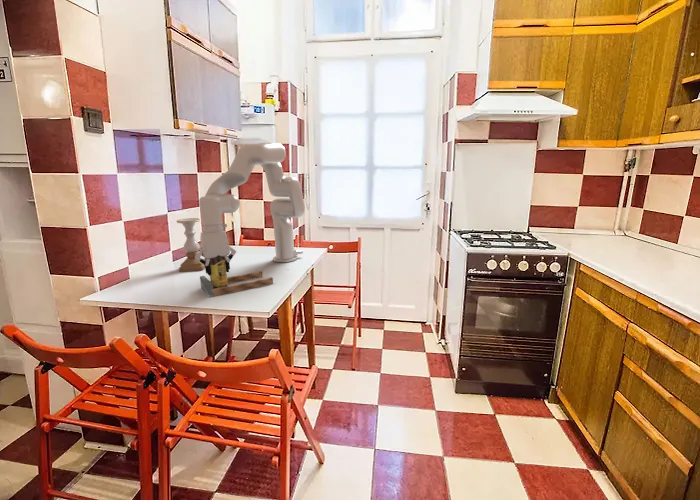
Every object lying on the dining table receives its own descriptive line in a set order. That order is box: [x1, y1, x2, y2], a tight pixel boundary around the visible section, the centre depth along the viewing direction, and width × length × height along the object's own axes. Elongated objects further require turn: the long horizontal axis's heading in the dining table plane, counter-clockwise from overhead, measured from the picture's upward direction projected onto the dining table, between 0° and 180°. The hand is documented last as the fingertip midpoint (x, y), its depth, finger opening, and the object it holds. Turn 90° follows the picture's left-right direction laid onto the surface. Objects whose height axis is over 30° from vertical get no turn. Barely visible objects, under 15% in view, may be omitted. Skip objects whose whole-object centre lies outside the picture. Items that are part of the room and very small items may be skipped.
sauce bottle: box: [209, 255, 229, 289], centre depth 144 cm, size 7×6×20 cm
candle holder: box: [176, 217, 205, 273], centre depth 176 cm, size 11×11×24 cm
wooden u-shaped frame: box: [199, 270, 274, 298], centre depth 150 cm, size 26×13×5 cm, turn 124°
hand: (218, 272), depth 145 cm, fingers closed on sauce bottle, 6 cm apart
